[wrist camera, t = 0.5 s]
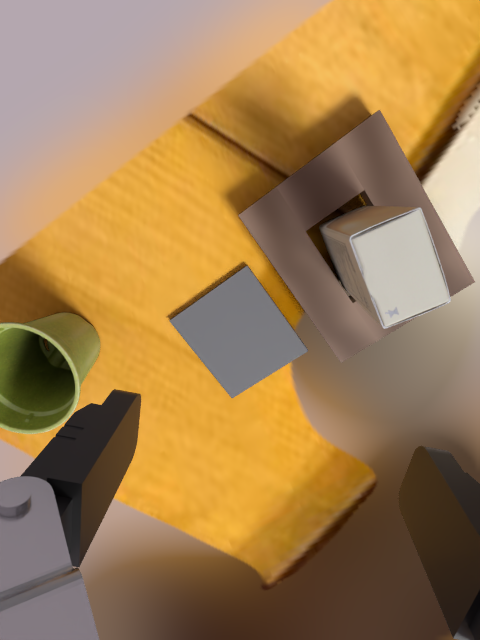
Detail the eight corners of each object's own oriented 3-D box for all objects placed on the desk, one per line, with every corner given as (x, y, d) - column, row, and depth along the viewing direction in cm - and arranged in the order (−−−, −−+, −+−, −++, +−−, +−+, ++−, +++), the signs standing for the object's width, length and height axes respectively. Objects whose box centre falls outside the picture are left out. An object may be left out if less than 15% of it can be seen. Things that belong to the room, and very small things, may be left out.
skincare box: (387, 269, 34) (456, 307, 22) (341, 288, 35) (384, 335, 23) (364, 200, 32) (424, 203, 21) (315, 222, 33) (348, 237, 21)
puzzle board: (371, 115, 30) (379, 109, 28) (462, 277, 34) (475, 281, 32) (239, 214, 33) (238, 215, 31) (336, 354, 37) (340, 362, 35)
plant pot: (9, 300, 36) (-63, 331, 28) (104, 288, 36) (59, 316, 27) (39, 388, 39) (-19, 439, 31) (127, 378, 38) (92, 428, 30)
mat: (247, 264, 34) (247, 265, 34) (307, 349, 37) (308, 350, 36) (170, 319, 36) (169, 320, 36) (232, 396, 39) (232, 398, 38)
